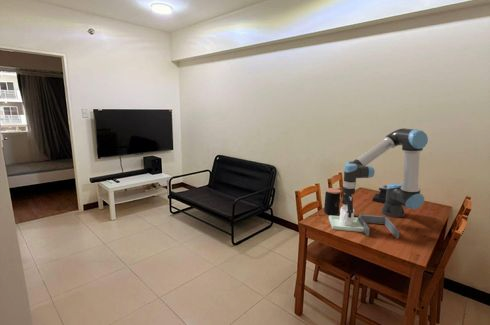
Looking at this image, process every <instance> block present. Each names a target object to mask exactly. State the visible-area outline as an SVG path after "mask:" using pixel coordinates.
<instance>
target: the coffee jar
mask: <svg viewBox="0 0 490 325" xmlns="http://www.w3.org/2000/svg"><path fill="white" fill-rule="evenodd" d="M341 192H342V190H341V189H339V188H335V187H328V188H326V189H325V196H324V207H323V212H324V213H325V214H326V215H328V216H338V215H339V214H340V204H341V203H340V202H341Z"/></svg>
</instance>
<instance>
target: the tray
mask: <svg viewBox="0 0 490 325" xmlns="http://www.w3.org/2000/svg"><path fill="white" fill-rule="evenodd" d="M328 220H329V223H330V227H331V228H332V230H337V231H345V232H346V231H347V232H356V233H358V232H359V233H365V232H364V227H363V226H362V224H361V223H360V221H359V220H358V217H354V218H353V224H352V225H351V226H346V225H342V224H341V223H340V221H339V220H340V215H328Z"/></svg>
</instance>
